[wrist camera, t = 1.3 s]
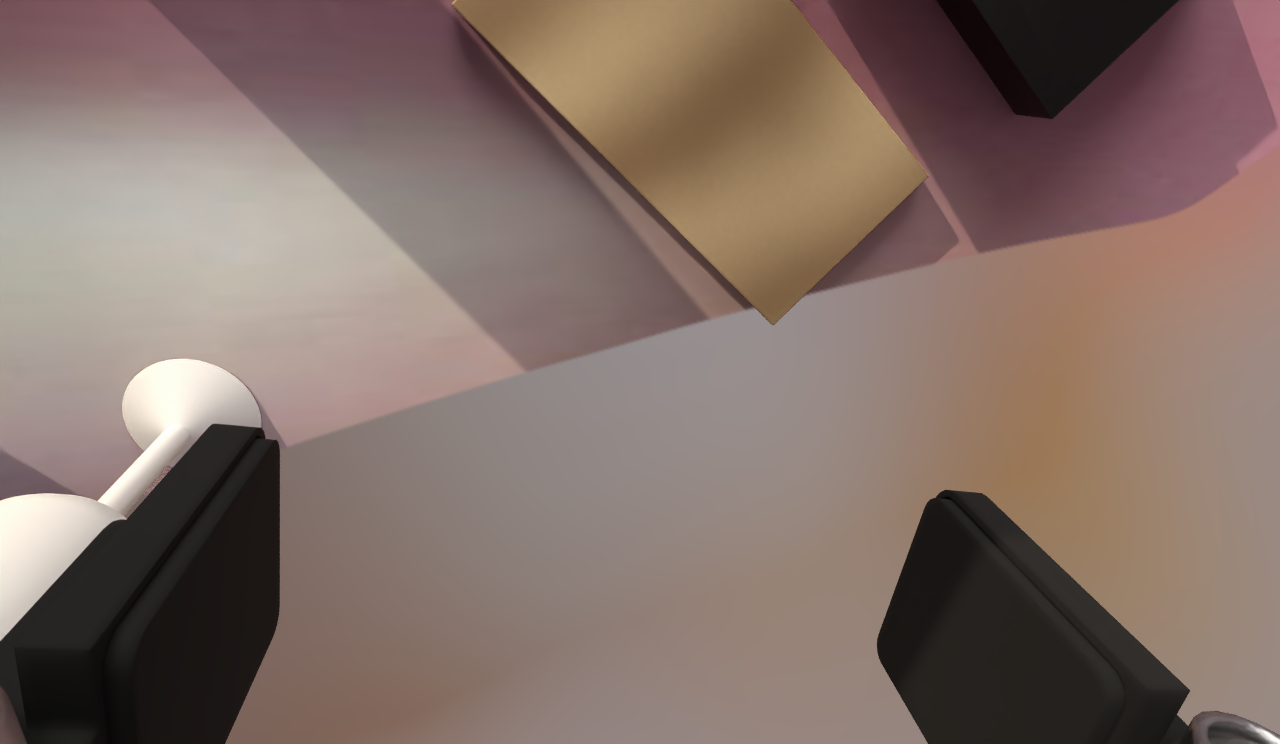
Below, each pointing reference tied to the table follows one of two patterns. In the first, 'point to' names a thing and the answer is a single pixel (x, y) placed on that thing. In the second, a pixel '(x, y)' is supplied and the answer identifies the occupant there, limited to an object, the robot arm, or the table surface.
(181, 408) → the champagne flute
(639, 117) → the board
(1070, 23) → the panel
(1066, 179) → the table surface
